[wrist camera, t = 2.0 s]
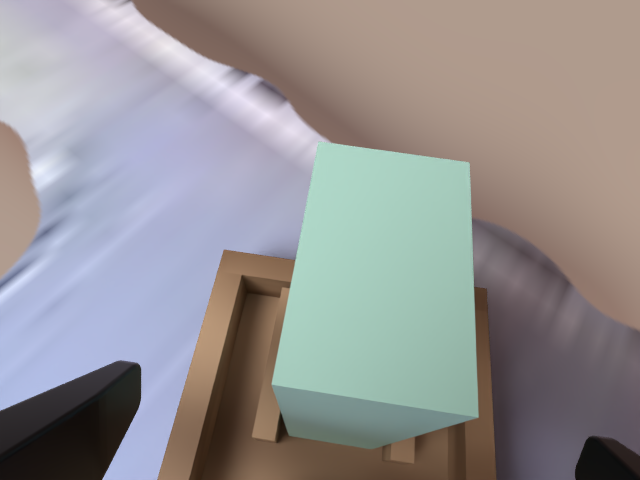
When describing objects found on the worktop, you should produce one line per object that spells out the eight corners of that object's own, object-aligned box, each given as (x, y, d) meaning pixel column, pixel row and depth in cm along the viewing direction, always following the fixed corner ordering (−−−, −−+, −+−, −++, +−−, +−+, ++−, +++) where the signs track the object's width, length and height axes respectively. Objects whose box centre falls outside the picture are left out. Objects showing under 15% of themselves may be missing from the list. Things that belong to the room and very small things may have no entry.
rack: (471, 784, 13) (516, 866, 10) (116, 717, 13) (70, 779, 10) (462, 312, 20) (486, 288, 17) (233, 278, 20) (223, 249, 18)
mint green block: (371, 449, 16) (478, 417, 6) (289, 435, 16) (271, 384, 6) (381, 323, 18) (469, 162, 9) (309, 312, 19) (318, 141, 9)
